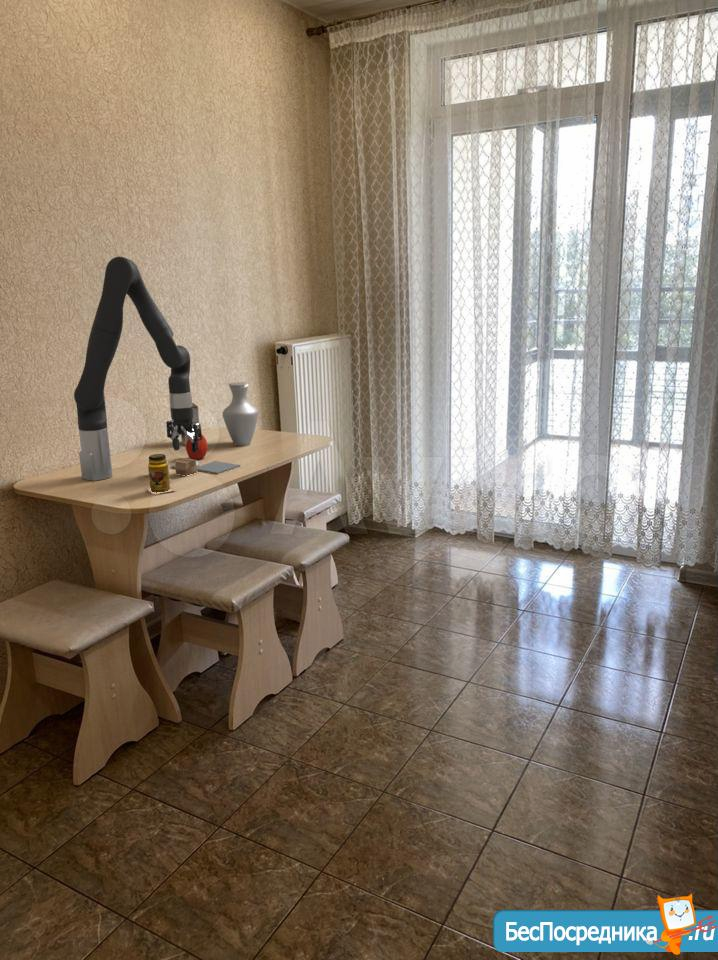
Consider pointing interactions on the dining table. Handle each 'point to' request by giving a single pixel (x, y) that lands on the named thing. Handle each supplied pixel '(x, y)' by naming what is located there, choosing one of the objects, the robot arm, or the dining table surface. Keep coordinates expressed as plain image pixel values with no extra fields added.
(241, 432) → the vase
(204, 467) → the slate pad
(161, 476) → the condiment
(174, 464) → the saucer
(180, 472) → the walnut block
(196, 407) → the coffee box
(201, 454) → the red egg
